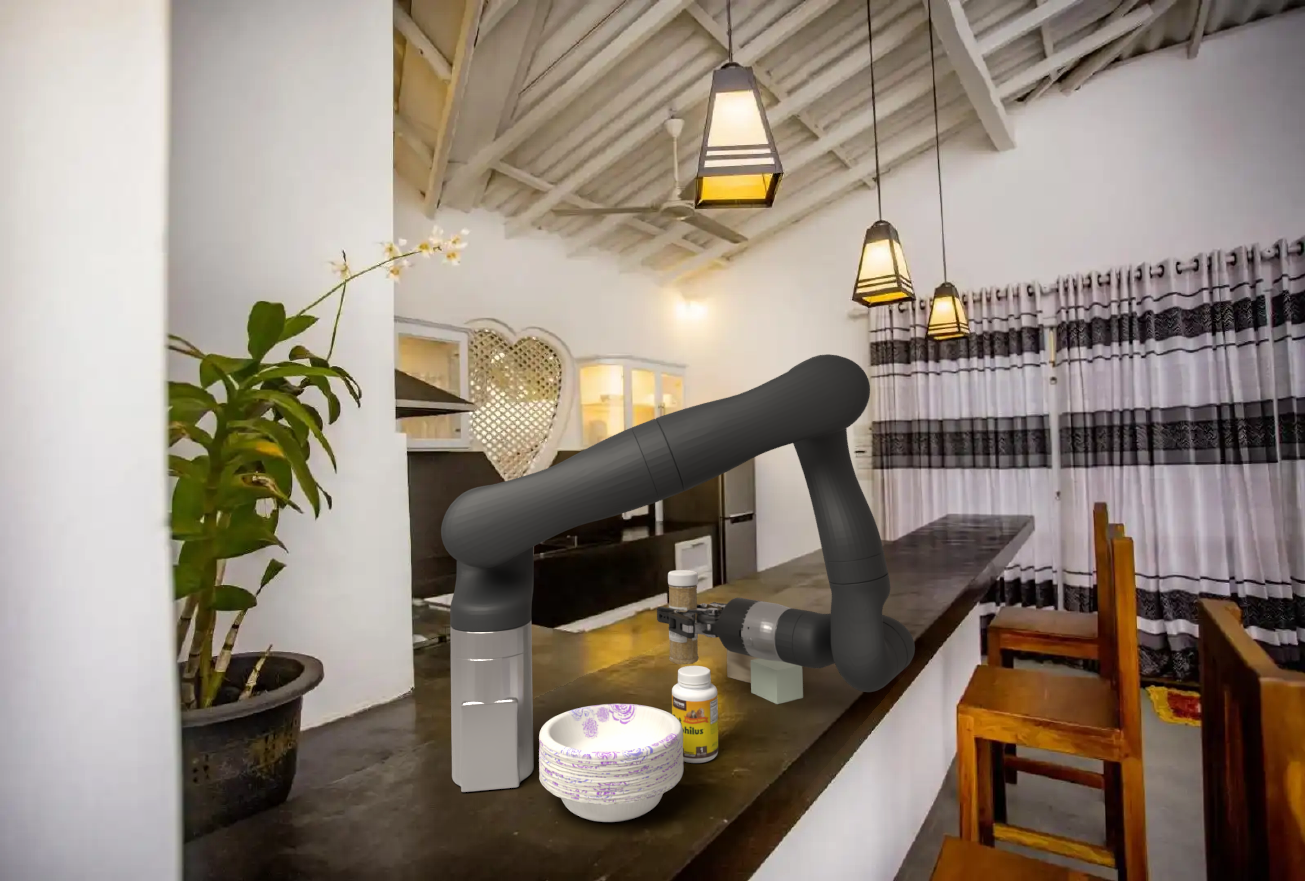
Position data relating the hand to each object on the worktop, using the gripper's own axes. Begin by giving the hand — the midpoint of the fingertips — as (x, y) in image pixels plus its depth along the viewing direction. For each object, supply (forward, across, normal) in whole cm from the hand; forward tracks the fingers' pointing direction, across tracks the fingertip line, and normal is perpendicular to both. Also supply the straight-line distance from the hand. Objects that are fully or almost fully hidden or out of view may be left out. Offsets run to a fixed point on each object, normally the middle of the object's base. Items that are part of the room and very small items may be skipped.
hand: (669, 611), depth 105 cm
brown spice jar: (-3, 0, +7) cm, 8 cm away
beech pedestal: (-6, -16, +12) cm, 21 cm away
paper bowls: (-18, +28, +13) cm, 36 cm away
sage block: (-16, -9, +10) cm, 21 cm away
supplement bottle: (-17, +14, +13) cm, 26 cm away
